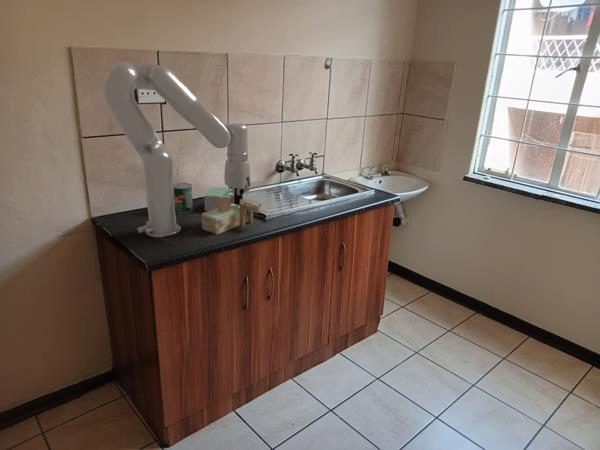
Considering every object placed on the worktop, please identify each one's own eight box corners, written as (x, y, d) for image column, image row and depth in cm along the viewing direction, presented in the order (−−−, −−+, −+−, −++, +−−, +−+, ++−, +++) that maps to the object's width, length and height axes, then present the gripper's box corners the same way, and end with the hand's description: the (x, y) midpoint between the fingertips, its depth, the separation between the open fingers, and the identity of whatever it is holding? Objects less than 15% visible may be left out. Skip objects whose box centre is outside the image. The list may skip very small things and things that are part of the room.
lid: (216, 220, 162) (215, 206, 160) (202, 215, 166) (201, 201, 164) (246, 210, 174) (246, 196, 172) (232, 205, 178) (232, 192, 176)
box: (231, 203, 199) (230, 187, 196) (221, 214, 186) (220, 197, 184) (215, 202, 200) (214, 186, 197) (204, 212, 187) (203, 195, 185)
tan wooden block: (257, 212, 167) (257, 205, 166) (239, 207, 172) (239, 200, 171) (261, 211, 169) (261, 203, 168) (244, 205, 174) (244, 198, 173)
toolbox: (219, 237, 163) (218, 211, 159) (199, 229, 169) (198, 204, 165) (253, 224, 177) (252, 200, 173) (233, 217, 182) (233, 194, 179)
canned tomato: (195, 207, 192) (194, 183, 188) (190, 214, 185) (189, 188, 181) (176, 207, 192) (175, 182, 188) (171, 213, 185) (169, 187, 181)
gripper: (216, 155, 169) (218, 202, 176) (245, 162, 161) (246, 210, 167) (230, 152, 174) (231, 197, 181) (259, 158, 166) (259, 205, 173)
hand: (238, 203), depth 174 cm, fingers closed
